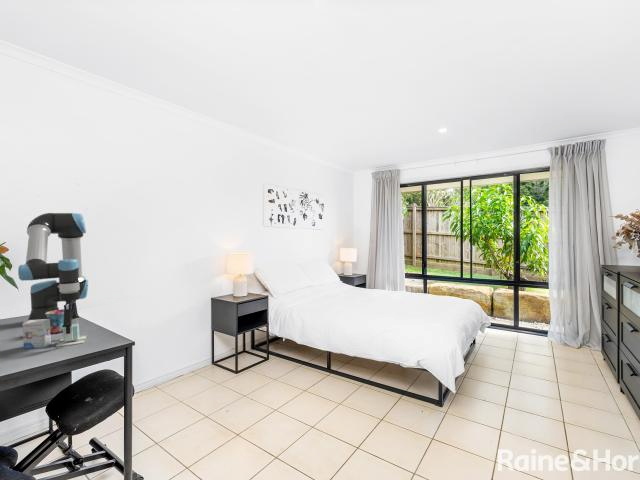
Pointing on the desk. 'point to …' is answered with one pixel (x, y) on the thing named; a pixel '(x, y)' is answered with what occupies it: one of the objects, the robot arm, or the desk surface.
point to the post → (79, 341)
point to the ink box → (36, 333)
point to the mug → (56, 320)
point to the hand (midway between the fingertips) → (71, 335)
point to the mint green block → (75, 332)
